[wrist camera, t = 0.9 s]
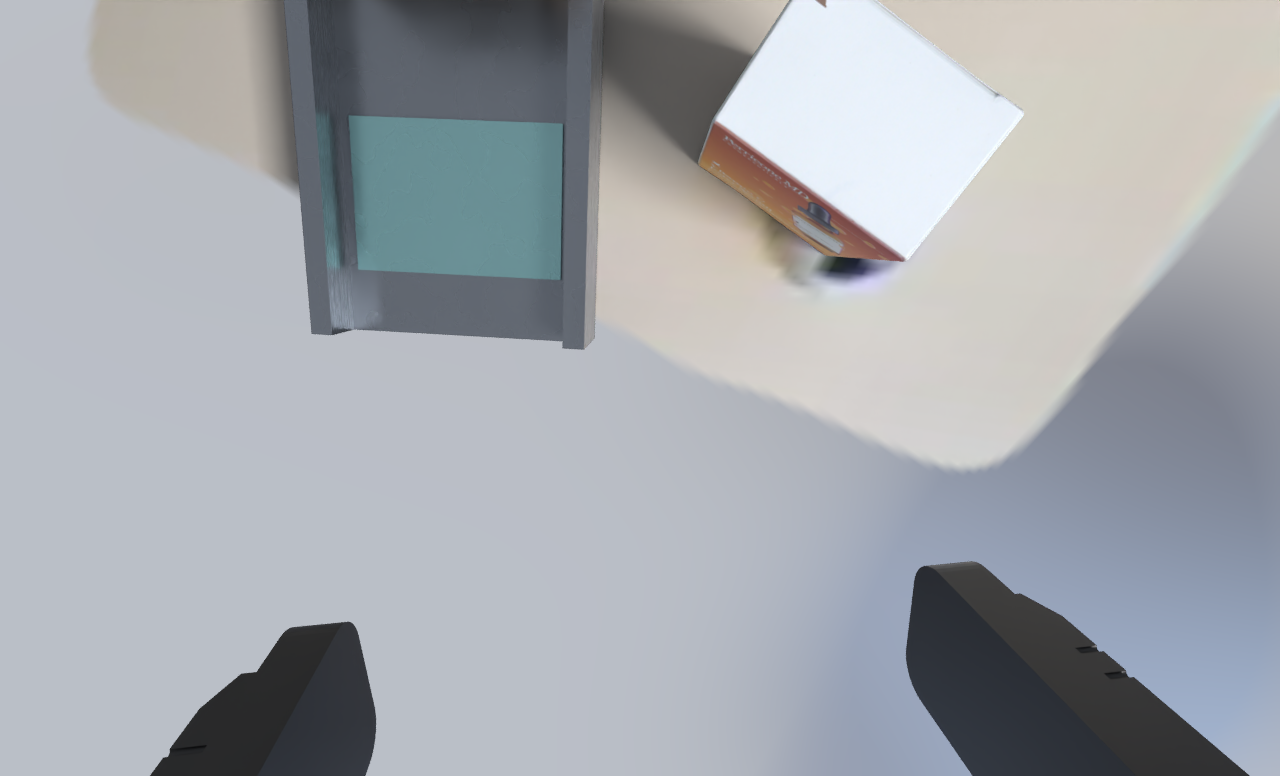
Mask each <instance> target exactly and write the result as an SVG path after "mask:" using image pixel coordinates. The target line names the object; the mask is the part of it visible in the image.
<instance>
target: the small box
mask: <svg viewBox="0 0 1280 776" xmlns="http://www.w3.org/2000/svg"><path fill="white" fill-rule="evenodd" d="M1023 115H1024V112H1023V109H1021V108H1020V107H1019V106H1017V105H1016V104H1014V103H1013V102H1011V101H1010V100H1008V99H1007V98H1005V97H1004V96H1002V95H1001V94H999V93H998V92H996V91H995V90H994V89H992V88H991V87H989V86H988V85H987V84H985V83H984V82H982V81H981V80H980V79H978V78H977V77H976V76H974V75H973V74H972V73H970V72H969V71H968V70H967V69H965V68H964V67H963V66H961V65H960V64H959V63H957V62H956V61H955V60H953V59H952V58H951V57H949V56H948V55H947V54H945V53H944V52H943V51H942V50H940V49H939V48H938V47H937V46H935V45H934V44H933V43H931V42H930V41H929V40H927V39H926V38H925V37H924V36H922V35H921V34H920V33H918V32H917V31H916V30H914V29H913V28H912V27H911V26H909V25H908V24H907V23H906V22H904V21H903V20H902V19H900V18H899V17H898V16H897V15H895V14H894V13H893V12H891V11H890V10H889V9H888V8H886V7H885V6H884V5H883V4H881V3H880V2H879V1H878V0H789V2H788V3H787V5H786V6H785V8H784V9H783V11H782V12H781V14H780V15H779V17H778V18H777V20H776V21H775V23H774V24H773V26H772V27H771V29H770V31H769V32H768V34H767V35H766V37H765V38H764V40H763V41H762V43H761V44H760V46H759V47H758V49H757V51H756V52H755V54H754V55H753V57H752V58H751V60H750V61H749V63H748V65H747V66H746V68H745V69H744V71H743V72H742V74H741V75H740V77H739V79H738V80H737V82H736V83H735V85H734V86H733V88H732V90H731V91H730V93H729V94H728V96H727V97H726V99H725V101H724V102H723V104H722V105H721V107H720V108H719V110H718V111H717V113H716V114H715V116H714V118H713V120H712V122H711V125H710V128H709V131H708V134H707V137H706V140H705V142H704V145H703V148H702V151H701V154H700V157H699V160H698V165H699V166H701V167H702V168H704V169H705V170H707V171H708V172H709V173H711V174H712V175H714V176H715V177H717V178H719V179H720V180H722V181H723V182H725V183H726V184H727V185H729V186H730V187H732V188H733V189H735V190H736V191H738V192H739V193H740V194H742V195H743V196H745V197H746V198H747V199H749V200H750V201H751V202H753V203H754V204H756V205H757V206H758V207H760V208H761V209H762V210H764V211H765V212H766V213H768V214H769V215H770V216H772V217H773V218H774V219H776V220H777V221H778V222H780V223H781V224H783V225H784V226H785V227H787V228H788V229H789V230H791V231H792V232H794V233H795V234H796V235H798V236H799V237H801V238H802V239H803V240H805V241H806V242H807V243H809V244H810V245H812V246H813V247H814V248H816V249H817V250H818V251H820V252H821V253H823V254H824V255H826V256H839V257H851V258H865V259H877V260H889V261H901V262H903V261H907V260H908V259H909V258H910V257H911V256H912V254H913V253H914V252H915V251H916V249H917V248H918V247H919V246H920V244H921V243H922V242H923V241H924V239H925V238H926V237H927V236H928V234H929V233H930V232H931V231H932V229H933V228H934V227H935V226H936V225H937V223H938V222H939V221H940V220H941V218H942V217H943V216H944V215H945V213H946V212H947V211H948V210H949V208H950V207H951V206H952V205H953V203H954V202H955V201H956V200H957V198H958V197H959V196H960V195H961V193H962V192H963V191H964V190H965V188H966V187H967V186H968V185H969V183H970V182H971V181H972V180H973V178H974V177H975V176H976V175H977V173H978V172H979V171H980V170H981V168H982V167H983V166H984V165H985V163H986V162H987V161H988V160H989V158H990V157H991V156H992V155H993V153H994V152H995V151H996V150H997V148H998V147H999V146H1000V144H1001V143H1002V142H1003V141H1004V139H1005V138H1006V137H1007V136H1008V134H1009V133H1010V132H1011V131H1012V129H1013V128H1014V127H1015V126H1016V124H1017V123H1018V122H1019V121H1020V119H1021V118H1022V117H1023Z"/></svg>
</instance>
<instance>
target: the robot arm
mask: <svg viewBox="0 0 1280 776" xmlns="http://www.w3.org/2000/svg"><path fill="white" fill-rule="evenodd" d="M906 661H907V668H908V672H909V676H910V679H911V682H912V685H913V687H914V689H915V691H916V693H917V695H918V697H919V699H920V700H921V702H922V703H923V705H924V706H925V707H926V709H927V710H928V712H929V713H930V715H931V716H932V718H933V719H934V720H935V722H936V723H937V725H938V726H939V728H940V729H941V731H942V732H943V734H944V735H945V736H946V738H947V739H948V741H949V742H950V744H951V745H952V747H953V748H954V749H955V751H956V752H957V754H958V755H959V757H960V758H961V760H962V761H963V762H964V764H965V765H966V767H967V768H968V770H969V771H970V773H971V774H972V775H973V776H1249V775H1248V774H1247V773H1246V772H1245V771H1243V770H1242V769H1241V768H1240V767H1239V766H1237V765H1236V764H1235V763H1234V762H1233V761H1232V760H1230V759H1229V758H1228V757H1227V756H1226V755H1225V754H1223V753H1222V752H1221V751H1220V750H1219V749H1218V748H1216V747H1215V746H1214V745H1213V744H1212V743H1210V742H1209V741H1208V740H1207V739H1206V738H1205V737H1203V736H1202V735H1201V734H1200V733H1199V732H1198V731H1196V730H1195V729H1194V728H1193V727H1192V726H1191V725H1189V724H1188V723H1187V722H1186V721H1185V720H1183V719H1182V718H1181V717H1180V716H1179V715H1178V714H1177V713H1175V712H1174V711H1173V710H1172V709H1170V708H1169V707H1168V706H1167V705H1166V704H1165V703H1163V702H1162V701H1161V700H1160V699H1159V698H1157V696H1155V695H1154V694H1153V693H1152V692H1151V691H1150V690H1148V689H1147V688H1146V687H1145V686H1144V685H1142V684H1141V683H1140V682H1139V681H1138V680H1136V679H1135V678H1134V677H1132V678H1129V677H1128V676H1127V674H1126V670H1125V669H1124V668H1123V667H1121V666H1120V665H1119V664H1118V663H1116V661H1114V660H1113V659H1112V658H1111V657H1110V656H1108V655H1107V654H1106V653H1105V652H1104V651H1102V652H1099V651H1098V650H1097V647H1096V645H1095V644H1094V643H1093V642H1092V641H1091V640H1089V638H1087V637H1086V636H1085V635H1084V634H1083V633H1081V632H1080V631H1079V630H1078V629H1077V628H1076V627H1074V626H1073V625H1072V624H1071V623H1070V622H1068V621H1067V620H1066V619H1065V618H1064V617H1063V616H1061V615H1059V614H1057V613H1056V612H1054V611H1052V610H1050V609H1048V608H1046V607H1044V606H1043V605H1041V604H1039V603H1037V602H1035V601H1033V600H1031V599H1030V598H1028V597H1026V596H1024V595H1022V594H1014V593H1013V592H1012V591H1011V590H1010V589H1009V588H1008V587H1006V586H1005V585H1004V584H1003V583H1002V582H1001V581H1000V580H999V579H997V578H996V577H995V576H994V575H993V574H992V573H991V572H990V571H988V570H987V569H986V568H985V567H984V566H982V565H981V564H979V563H977V562H972V561H971V562H960V563H950V564H940V565H930V566H923V567H921V568H920V569H919V570H918V571H917V573H916V576H915V580H914V589H913V597H912V605H911V613H910V622H909V630H908V639H907V648H906ZM375 734H376V714H375V707H374V702H373V698H372V693H371V689H370V684H369V680H368V676H367V671H366V667H365V662H364V658H363V653H362V649H361V644H360V640H359V635H358V632H357V630H356V628H355V626H354V625H353V624H352V623H351V622H341V623H331V624H321V625H312V626H302V627H292V628H289V629H288V630H287V631H285V632H284V633H283V634H282V636H281V637H280V638H279V640H278V641H277V643H276V644H275V646H274V647H273V649H272V650H271V652H270V653H269V655H268V656H267V658H266V659H265V660H264V662H263V664H262V665H261V666H260V668H259V669H258V671H257V672H254V673H244V674H241V675H239V676H238V677H237V678H236V679H235V680H233V681H232V682H231V683H230V684H229V685H227V686H226V687H225V688H224V689H223V690H221V691H220V692H219V693H218V694H217V695H215V696H214V697H213V698H212V699H211V700H209V702H207V703H206V704H205V705H204V706H202V707H201V708H200V709H199V710H198V712H197V713H196V714H195V716H194V717H193V718H192V720H191V721H190V722H189V724H188V725H187V726H186V728H185V729H184V731H183V732H182V733H181V735H180V736H179V737H178V739H177V740H176V741H175V743H174V744H173V745H172V747H171V748H170V754H169V756H168V757H165V758H163V759H162V760H161V762H160V763H159V764H158V766H157V767H156V768H155V770H154V771H153V772H152V774H151V775H150V776H365V775H366V772H367V769H368V766H369V764H370V760H371V757H372V753H373V749H374V742H375Z"/></svg>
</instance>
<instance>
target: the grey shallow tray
mask: <svg viewBox="0 0 1280 776" xmlns="http://www.w3.org/2000/svg"><path fill="white" fill-rule="evenodd" d="M284 9H285V21H286V33H287V45H288V57H289V69H290V81H291V92H292V104H293V116H294V128H295V140H296V152H297V164H298V176H299V188H300V200H301V212H302V224H303V236H304V247H305V260H306V272H307V284H308V296H309V308H310V320H311V332H312V334H323V335H334V334H338V333H342V332H346V331H350V330H354V329H357V330H375V331H392V332H393V331H394V332H411V333H427V334H445V335H446V334H447V335H463V336H481V337H499V338H516V339H534V340H550V341H551V340H552V341H563V348H566V349H567V348H568V349H585V348H586V347H587V346H588V345H589V344H590V343H591V341H592V340H593V339H594V337H595V335H594V334H595V302H596V268H597V234H598V200H599V166H600V131H601V97H602V63H603V29H604V0H284Z"/></svg>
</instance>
